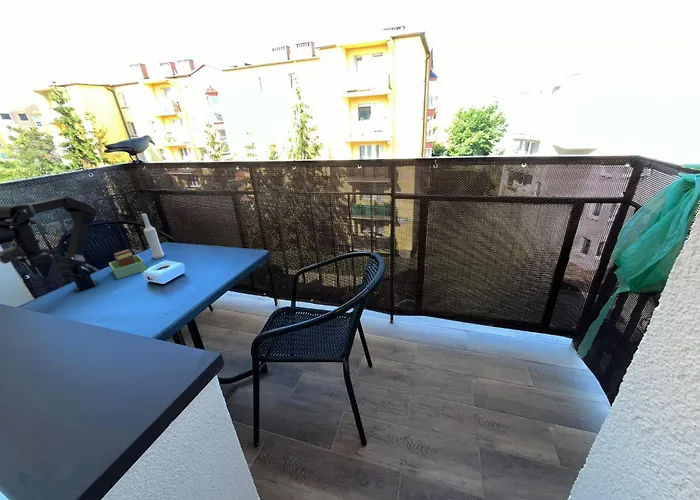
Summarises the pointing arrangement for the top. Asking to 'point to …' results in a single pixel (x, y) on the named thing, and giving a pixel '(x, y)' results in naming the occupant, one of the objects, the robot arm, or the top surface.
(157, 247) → the bottle
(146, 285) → the top surface
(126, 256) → the chocolate bar
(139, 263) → the green open tray
